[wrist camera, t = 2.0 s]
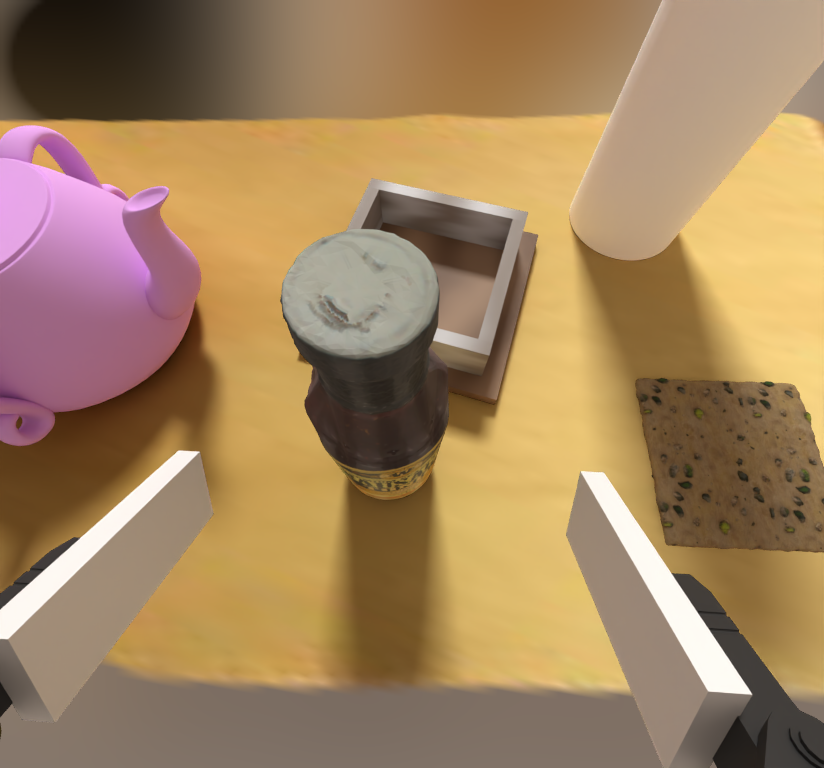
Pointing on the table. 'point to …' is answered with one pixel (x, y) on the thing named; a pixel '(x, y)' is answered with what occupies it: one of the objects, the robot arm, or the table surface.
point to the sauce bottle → (371, 356)
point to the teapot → (80, 286)
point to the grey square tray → (462, 274)
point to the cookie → (733, 464)
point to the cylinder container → (691, 115)
